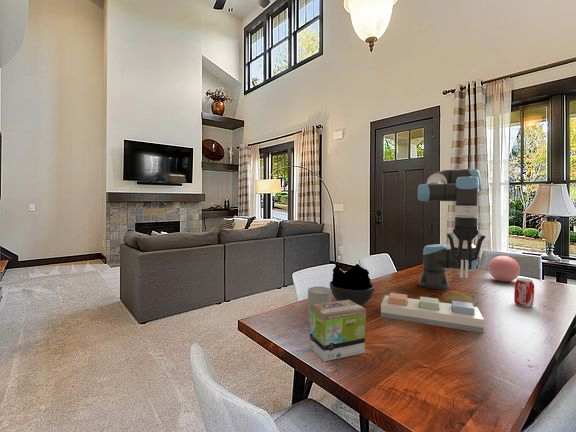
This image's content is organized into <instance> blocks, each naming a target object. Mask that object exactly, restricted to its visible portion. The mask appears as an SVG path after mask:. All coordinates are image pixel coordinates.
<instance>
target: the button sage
mask: <svg viewBox="0 0 576 432" xmlns="http://www.w3.org/2000/svg"><path fill="white" fill-rule="evenodd" d="M419 300H420V308H424V309H432V310H439V302H440V299H439V298H436V297H429V296H419Z"/></svg>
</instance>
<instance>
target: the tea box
mask: <svg viewBox="0 0 576 432" xmlns="http://www.w3.org/2000/svg"><path fill="white" fill-rule="evenodd" d="M366 321H367V308H365V307H363V305H361V306H360V305H358V304H356V303H354V302H352V301H351V300H342V301H337V300H336V301H331V302H327V303H320V304H312V305H311V316H310V322H309V349H311V351H312V352H313V353H315V355H316V356H317V357H319V359H320V360H321V361H322V362H323V363H326V362H330V361H333V360H337V359H343V358H347V357H352V356H357V355H362V354H363V355H364V354H365V352H366V351H365V350H366V325H367V324H366V323H367V322H366Z"/></svg>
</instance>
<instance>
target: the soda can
mask: <svg viewBox="0 0 576 432" xmlns="http://www.w3.org/2000/svg"><path fill="white" fill-rule="evenodd" d="M514 283H515V284H514V292H513V293H514V295H513V296H514V297H513V300H514V304H516V305H517V306H518V307H522V308H531V307H533V306H534V301H535V283H534V280H532V279H529V278H523V277H522V278H521V277H517V278H516V281H514Z"/></svg>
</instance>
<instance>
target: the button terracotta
mask: <svg viewBox="0 0 576 432" xmlns="http://www.w3.org/2000/svg"><path fill="white" fill-rule="evenodd" d="M388 296H389V298H388V303H389V304H396V305H403V306H407V298H408V294H406V293H405V294H404V293H396V292H389V295H388Z"/></svg>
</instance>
